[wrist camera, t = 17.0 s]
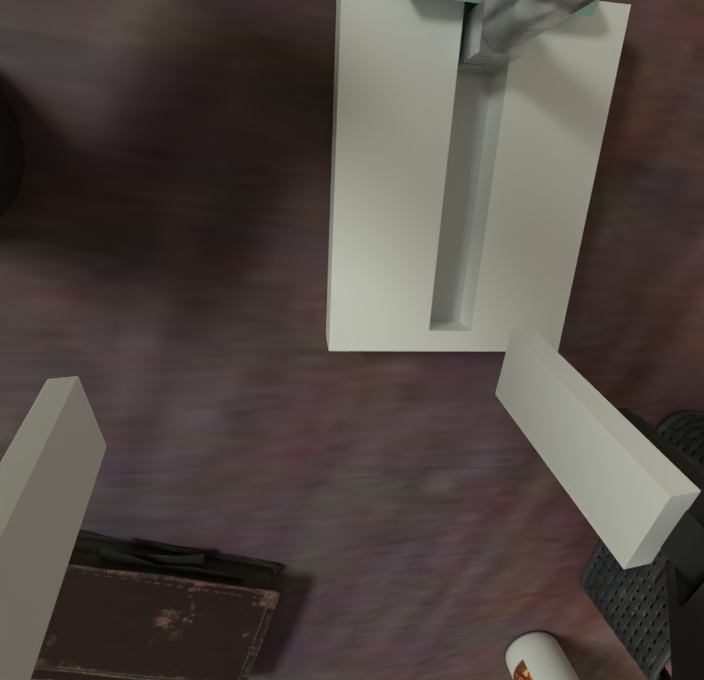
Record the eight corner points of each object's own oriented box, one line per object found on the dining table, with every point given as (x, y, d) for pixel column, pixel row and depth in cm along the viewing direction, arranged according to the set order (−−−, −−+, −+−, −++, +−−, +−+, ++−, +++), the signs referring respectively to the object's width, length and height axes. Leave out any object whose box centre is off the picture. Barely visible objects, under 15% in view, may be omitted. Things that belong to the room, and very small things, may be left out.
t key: (428, 69, 36) (572, -54, 17) (432, 22, 35) (591, -162, 16) (510, 76, 37) (730, -33, 18) (517, 31, 36) (757, -134, 17)
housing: (325, 336, 44) (329, 351, 40) (336, -6, 34) (342, -30, 31) (536, 338, 46) (557, 351, 43) (597, 22, 37) (631, 4, 34)
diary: (242, 664, 58) (238, 707, 53) (31, 640, 52) (5, 685, 47) (283, 554, 52) (282, 591, 47) (52, 514, 47) (25, 552, 42)
